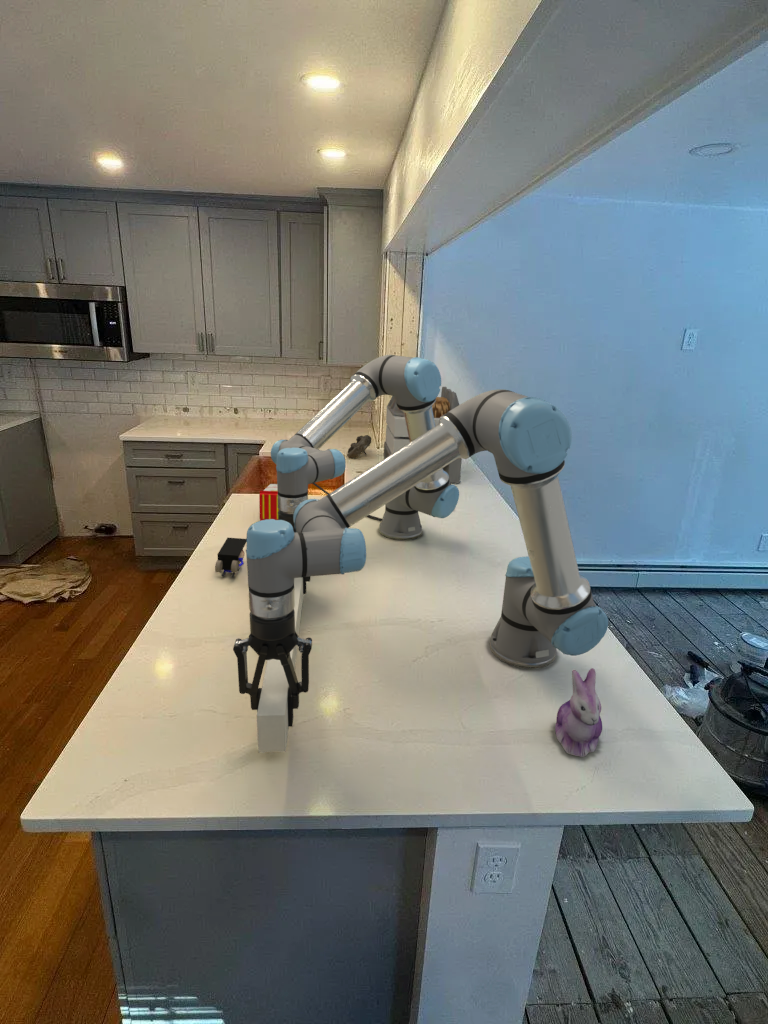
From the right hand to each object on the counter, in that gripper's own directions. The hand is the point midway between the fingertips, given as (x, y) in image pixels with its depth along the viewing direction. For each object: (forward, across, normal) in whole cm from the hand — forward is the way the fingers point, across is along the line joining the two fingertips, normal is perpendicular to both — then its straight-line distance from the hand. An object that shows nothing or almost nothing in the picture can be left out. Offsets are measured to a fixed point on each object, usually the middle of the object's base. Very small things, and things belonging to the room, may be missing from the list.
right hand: (275, 721), depth 104 cm
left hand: (0, 0, +50) cm, 51 cm away
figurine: (+3, +56, -4) cm, 56 cm away
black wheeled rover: (+3, -19, +69) cm, 72 cm away
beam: (+1, 0, +25) cm, 25 cm away
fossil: (+3, +24, +211) cm, 212 cm away
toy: (+3, -10, +115) cm, 115 cm away
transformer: (+3, +52, +177) cm, 184 cm away
